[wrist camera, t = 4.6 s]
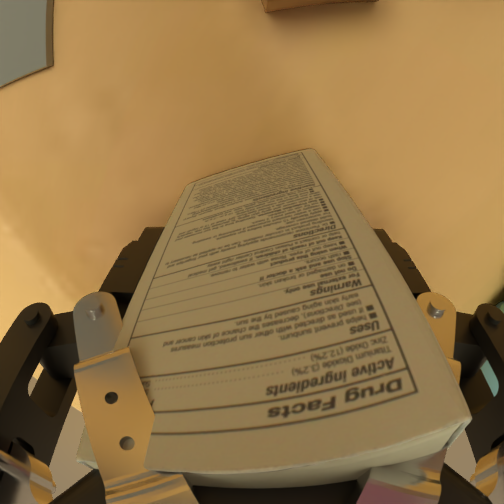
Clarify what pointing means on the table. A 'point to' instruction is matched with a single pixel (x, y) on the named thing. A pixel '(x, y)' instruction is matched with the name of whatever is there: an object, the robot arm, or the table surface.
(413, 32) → the table surface
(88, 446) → the skincare box
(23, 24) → the coaster
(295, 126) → the table surface
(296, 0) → the walnut block
